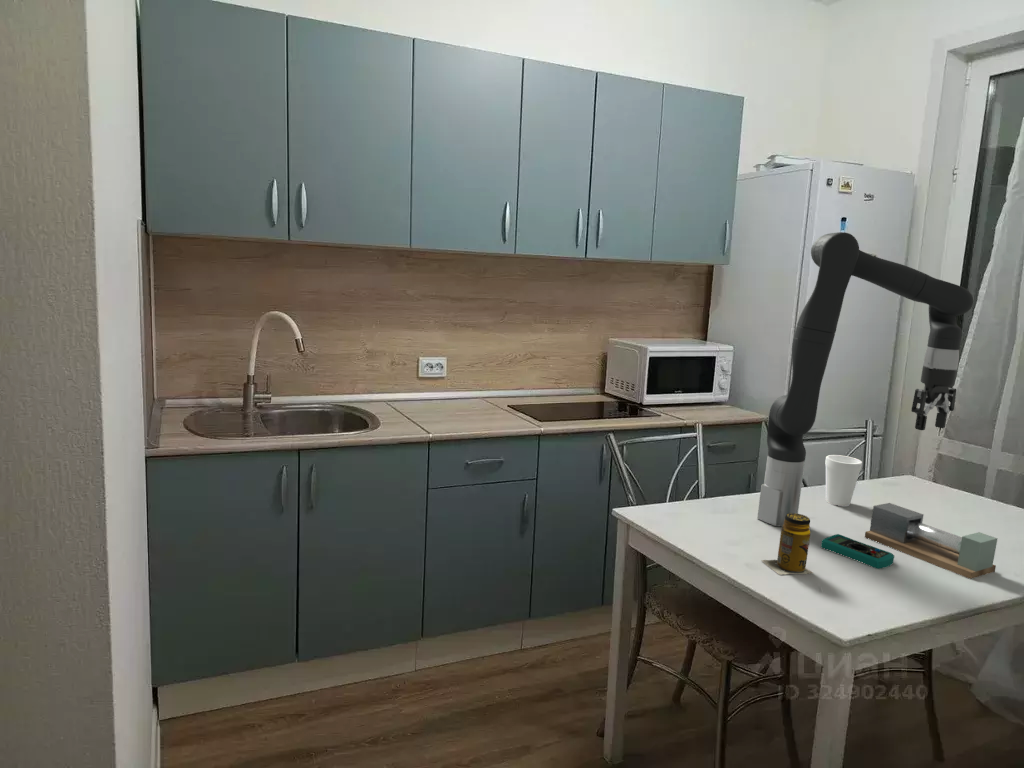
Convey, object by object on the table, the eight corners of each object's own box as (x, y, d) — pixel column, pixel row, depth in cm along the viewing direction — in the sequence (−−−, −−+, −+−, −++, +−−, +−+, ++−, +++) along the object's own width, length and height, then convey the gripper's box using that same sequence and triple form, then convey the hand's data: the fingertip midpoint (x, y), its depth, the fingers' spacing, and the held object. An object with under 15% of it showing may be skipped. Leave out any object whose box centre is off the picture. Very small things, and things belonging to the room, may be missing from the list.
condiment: (813, 573, 160) (820, 521, 158) (779, 575, 158) (786, 522, 156) (794, 560, 167) (800, 510, 165) (760, 561, 165) (767, 511, 163)
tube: (974, 562, 164) (977, 546, 164) (894, 533, 180) (897, 517, 180) (983, 560, 166) (986, 543, 166) (904, 530, 182) (906, 515, 182)
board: (970, 579, 162) (971, 572, 162) (864, 537, 184) (865, 531, 184) (994, 571, 167) (995, 565, 167) (888, 531, 189) (889, 526, 189)
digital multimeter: (880, 572, 164) (882, 559, 164) (818, 548, 176) (820, 537, 175) (895, 565, 169) (897, 553, 168) (835, 543, 180) (836, 531, 180)
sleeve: (903, 543, 177) (907, 517, 176) (869, 530, 185) (873, 505, 184) (919, 539, 180) (923, 514, 179) (885, 527, 188) (889, 502, 187)
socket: (975, 571, 163) (980, 542, 161) (957, 564, 166) (962, 536, 165) (992, 566, 166) (997, 538, 165) (974, 559, 170) (979, 532, 168)
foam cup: (813, 497, 214) (819, 454, 212) (840, 497, 217) (846, 454, 214) (834, 508, 205) (841, 464, 203) (862, 507, 208) (869, 464, 205)
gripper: (942, 363, 190) (932, 423, 193) (908, 364, 183) (898, 426, 186) (971, 367, 184) (960, 430, 187) (938, 369, 177) (927, 433, 180)
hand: (929, 428), depth 186 cm, fingers open, 8 cm apart
